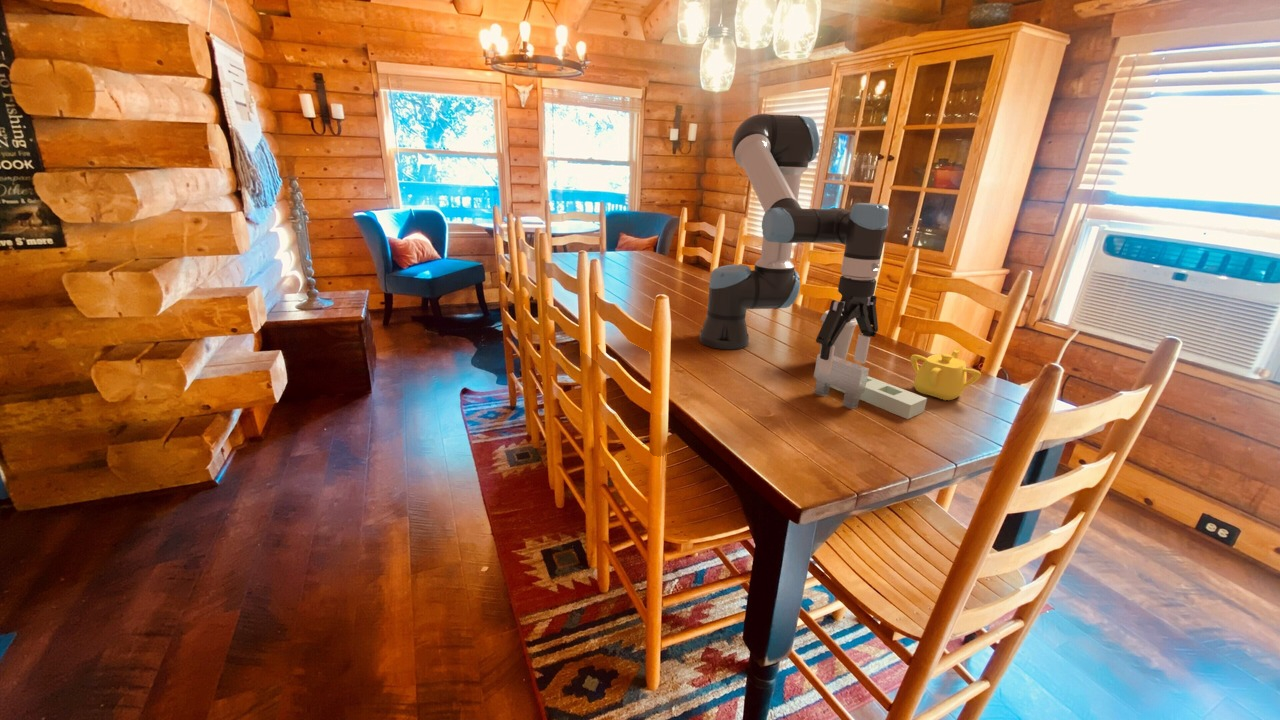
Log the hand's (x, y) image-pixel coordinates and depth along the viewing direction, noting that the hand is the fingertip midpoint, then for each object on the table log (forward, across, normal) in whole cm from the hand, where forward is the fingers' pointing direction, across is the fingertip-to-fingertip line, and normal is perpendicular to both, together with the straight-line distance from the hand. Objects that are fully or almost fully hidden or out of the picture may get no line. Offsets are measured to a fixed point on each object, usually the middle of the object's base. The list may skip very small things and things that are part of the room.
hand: (842, 366), depth 123 cm
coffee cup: (+9, +19, +15) cm, 26 cm away
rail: (+9, +9, -4) cm, 13 cm away
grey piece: (+9, 0, 0) cm, 9 cm away
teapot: (+9, +27, -11) cm, 31 cm away
